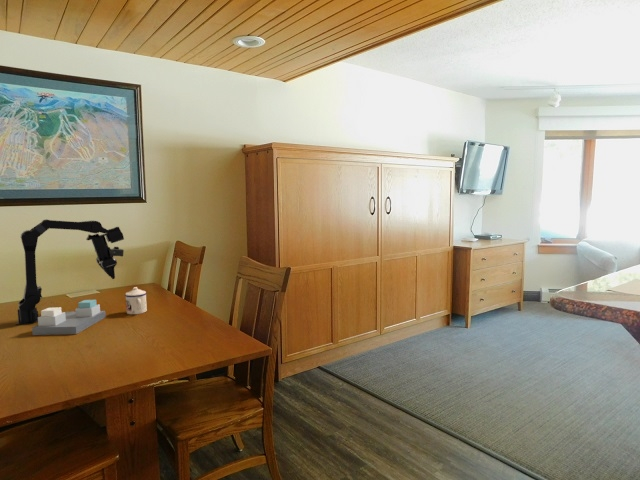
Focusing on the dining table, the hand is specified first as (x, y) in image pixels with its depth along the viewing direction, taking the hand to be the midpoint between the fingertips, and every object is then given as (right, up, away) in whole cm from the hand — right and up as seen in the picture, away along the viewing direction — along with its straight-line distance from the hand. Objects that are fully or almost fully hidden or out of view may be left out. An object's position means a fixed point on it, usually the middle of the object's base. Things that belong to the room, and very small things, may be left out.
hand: (112, 277), depth 200 cm
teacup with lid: (+15, -16, -7) cm, 23 cm away
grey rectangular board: (-4, -18, -25) cm, 31 cm away
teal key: (-1, -12, -20) cm, 23 cm away
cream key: (-9, -13, -32) cm, 35 cm away
